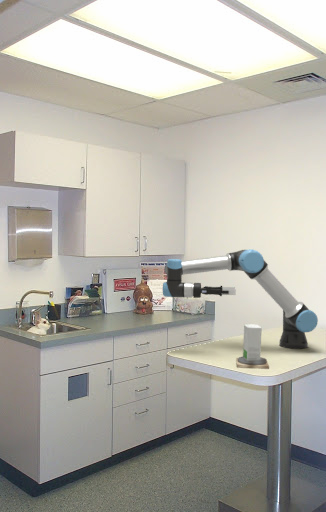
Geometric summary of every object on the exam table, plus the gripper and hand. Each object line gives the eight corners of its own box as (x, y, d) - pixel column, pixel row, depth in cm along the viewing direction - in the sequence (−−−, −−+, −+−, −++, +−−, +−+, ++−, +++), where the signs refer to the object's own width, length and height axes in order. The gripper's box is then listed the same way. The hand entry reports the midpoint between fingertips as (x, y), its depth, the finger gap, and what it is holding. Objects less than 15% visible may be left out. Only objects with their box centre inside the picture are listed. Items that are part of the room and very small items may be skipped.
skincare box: (242, 357, 227) (243, 324, 227) (256, 357, 227) (257, 324, 227) (247, 361, 219) (247, 327, 218) (261, 361, 219) (262, 327, 219)
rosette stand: (266, 361, 229) (266, 356, 229) (268, 368, 215) (269, 363, 215) (236, 360, 231) (236, 355, 231) (237, 367, 217) (237, 362, 217)
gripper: (194, 295, 259) (234, 296, 256) (191, 300, 234) (235, 301, 231) (194, 281, 259) (234, 282, 256) (191, 284, 234) (235, 285, 231)
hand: (235, 291), depth 244 cm, fingers open, 13 cm apart
